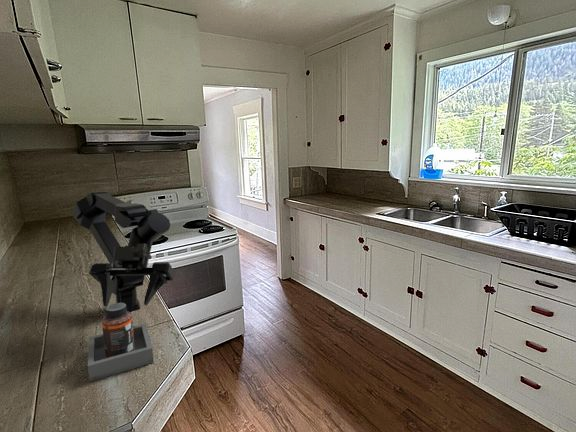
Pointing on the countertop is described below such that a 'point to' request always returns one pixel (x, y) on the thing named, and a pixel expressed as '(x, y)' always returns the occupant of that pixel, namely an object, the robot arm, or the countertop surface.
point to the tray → (109, 366)
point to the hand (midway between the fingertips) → (125, 305)
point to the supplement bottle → (118, 330)
